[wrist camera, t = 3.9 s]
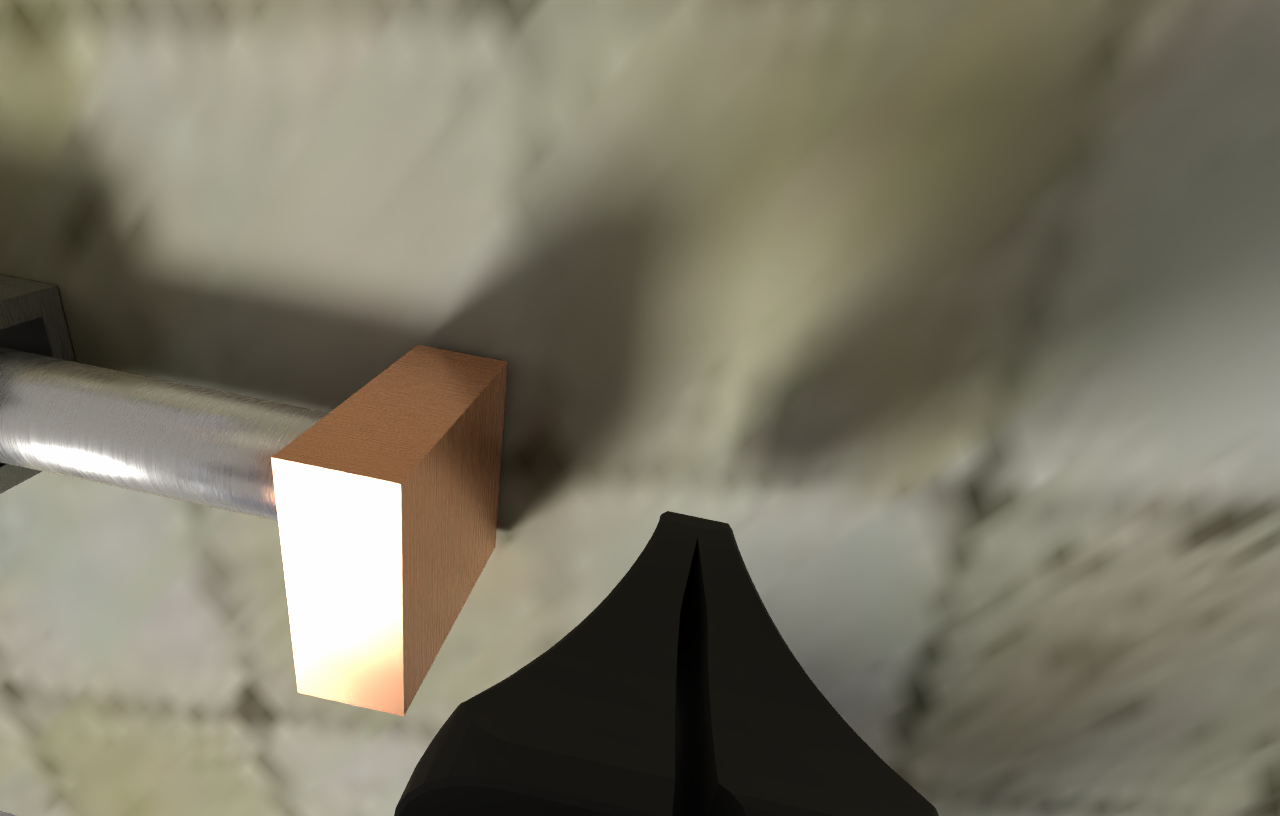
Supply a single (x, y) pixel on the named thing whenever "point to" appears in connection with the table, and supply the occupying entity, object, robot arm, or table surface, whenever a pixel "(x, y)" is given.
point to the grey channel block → (31, 338)
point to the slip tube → (304, 492)
